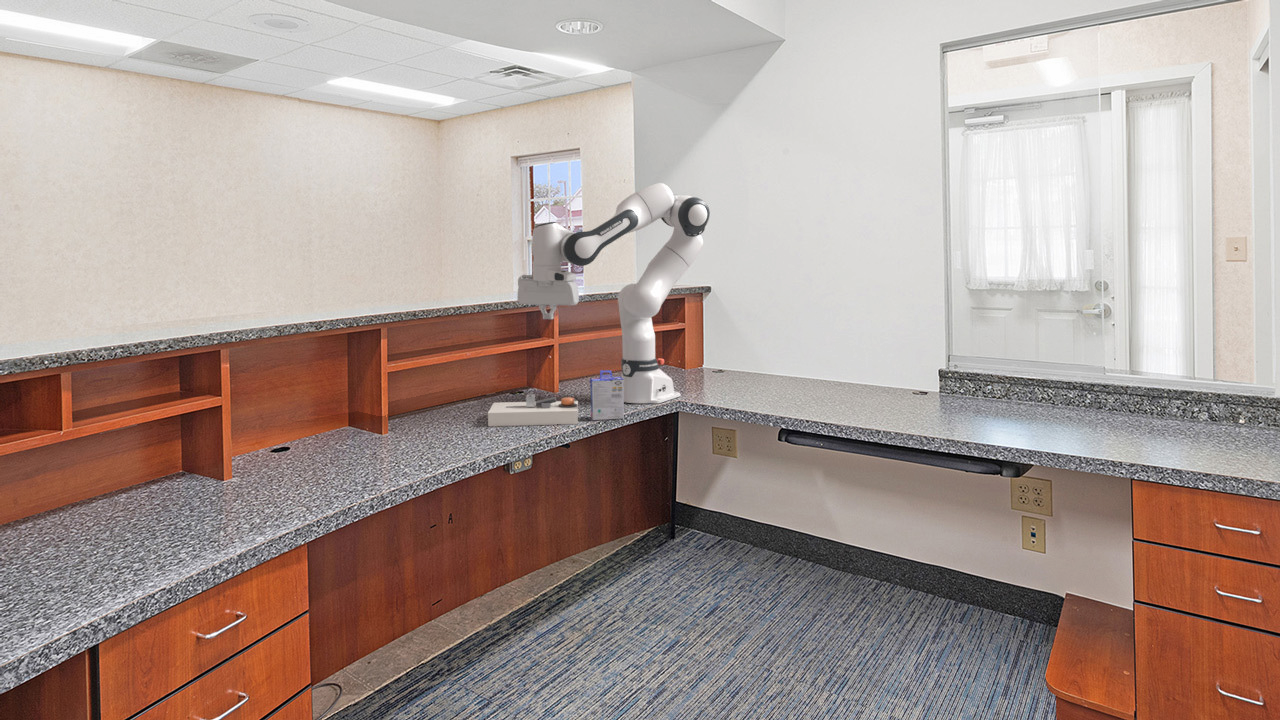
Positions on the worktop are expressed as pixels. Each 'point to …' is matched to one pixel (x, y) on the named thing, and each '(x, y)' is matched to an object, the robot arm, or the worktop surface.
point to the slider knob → (530, 400)
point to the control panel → (532, 414)
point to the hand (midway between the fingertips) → (548, 319)
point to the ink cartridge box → (607, 397)
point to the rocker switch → (546, 401)
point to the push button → (567, 401)
